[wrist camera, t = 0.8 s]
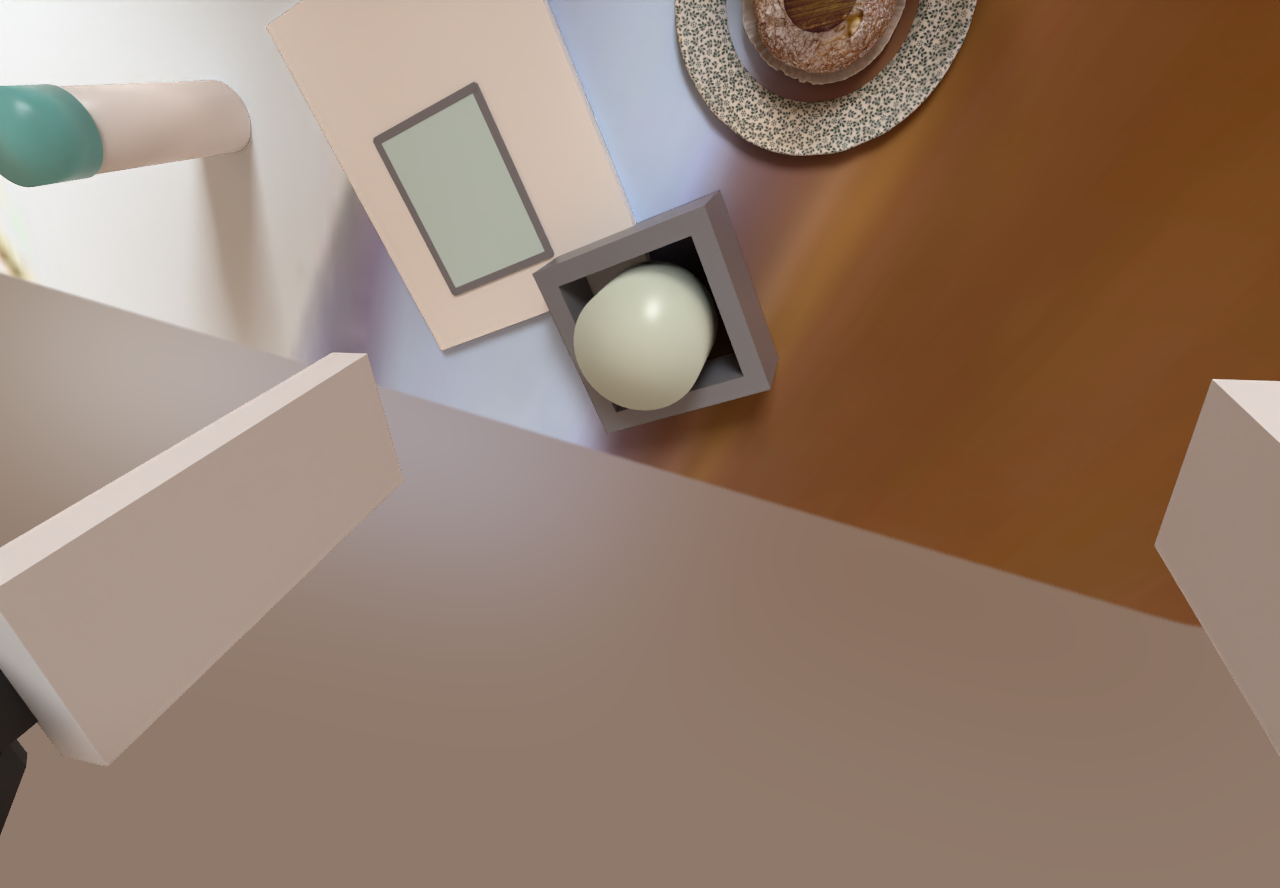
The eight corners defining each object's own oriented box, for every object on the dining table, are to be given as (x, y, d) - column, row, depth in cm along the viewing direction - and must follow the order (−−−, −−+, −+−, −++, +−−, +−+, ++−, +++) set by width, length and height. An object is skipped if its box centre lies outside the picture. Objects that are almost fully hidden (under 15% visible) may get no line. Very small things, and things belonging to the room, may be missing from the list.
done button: (581, 284, 35) (552, 309, 31) (691, 242, 32) (672, 265, 29) (628, 389, 37) (605, 423, 33) (735, 358, 34) (721, 391, 31)
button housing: (561, 253, 37) (532, 273, 33) (719, 189, 33) (704, 205, 30) (628, 401, 40) (606, 433, 37) (778, 358, 36) (770, 389, 33)
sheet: (274, 26, 35) (264, 26, 34) (495, -130, 29) (487, -134, 29) (446, 347, 41) (440, 351, 41) (655, 270, 36) (651, 273, 35)
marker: (179, 96, 38) (-49, 110, 29) (223, 65, 37) (-3, 69, 27) (221, 164, 40) (16, 200, 30) (265, 137, 38) (64, 166, 28)
